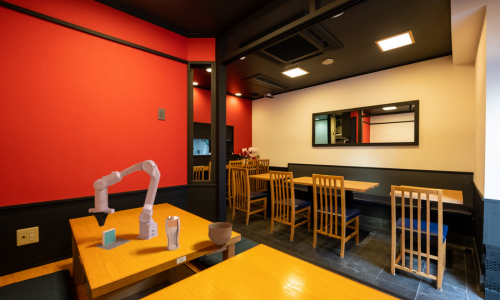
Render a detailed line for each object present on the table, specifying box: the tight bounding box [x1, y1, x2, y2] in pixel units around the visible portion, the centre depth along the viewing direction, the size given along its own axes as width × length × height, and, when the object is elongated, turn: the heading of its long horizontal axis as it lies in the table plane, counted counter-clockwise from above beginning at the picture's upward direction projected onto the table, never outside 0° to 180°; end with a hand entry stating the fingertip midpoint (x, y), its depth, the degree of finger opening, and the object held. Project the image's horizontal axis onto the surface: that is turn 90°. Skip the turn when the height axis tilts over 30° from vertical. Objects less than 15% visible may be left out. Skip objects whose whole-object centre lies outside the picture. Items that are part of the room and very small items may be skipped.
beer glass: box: [164, 215, 181, 251], centre depth 107 cm, size 7×7×15 cm
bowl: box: [207, 221, 233, 246], centre depth 110 cm, size 13×13×10 cm
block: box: [101, 227, 116, 246], centre depth 112 cm, size 2×6×7 cm, turn 156°
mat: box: [94, 236, 132, 251], centre depth 112 cm, size 12×12×1 cm
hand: (101, 225), depth 114 cm, fingers closed
